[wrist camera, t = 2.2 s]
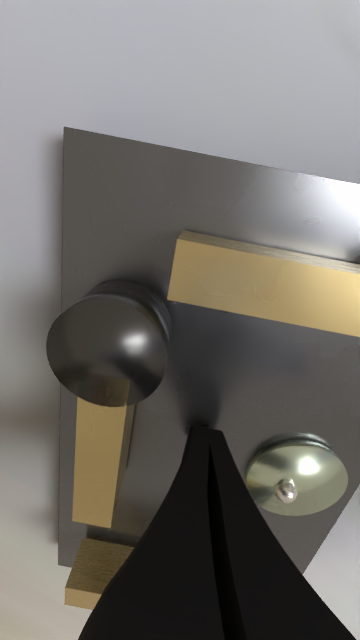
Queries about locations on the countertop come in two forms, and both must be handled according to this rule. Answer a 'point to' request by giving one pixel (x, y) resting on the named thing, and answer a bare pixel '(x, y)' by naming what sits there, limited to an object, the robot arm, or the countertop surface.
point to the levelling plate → (216, 335)
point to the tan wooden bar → (266, 283)
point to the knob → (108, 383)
